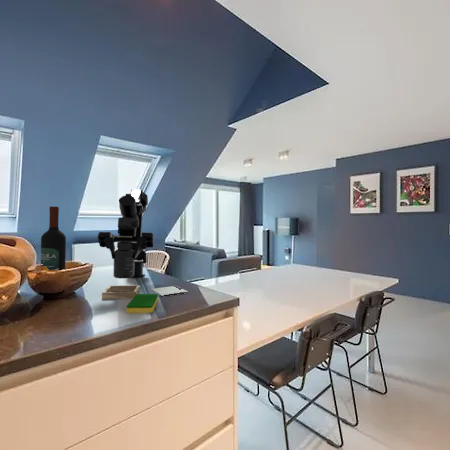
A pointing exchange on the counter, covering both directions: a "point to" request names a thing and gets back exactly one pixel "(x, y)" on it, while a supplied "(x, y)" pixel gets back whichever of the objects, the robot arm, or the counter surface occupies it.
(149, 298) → the dish sponge
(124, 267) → the supplement bottle
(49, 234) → the wine bottle
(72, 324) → the counter surface
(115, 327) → the counter surface
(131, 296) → the frame
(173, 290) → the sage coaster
